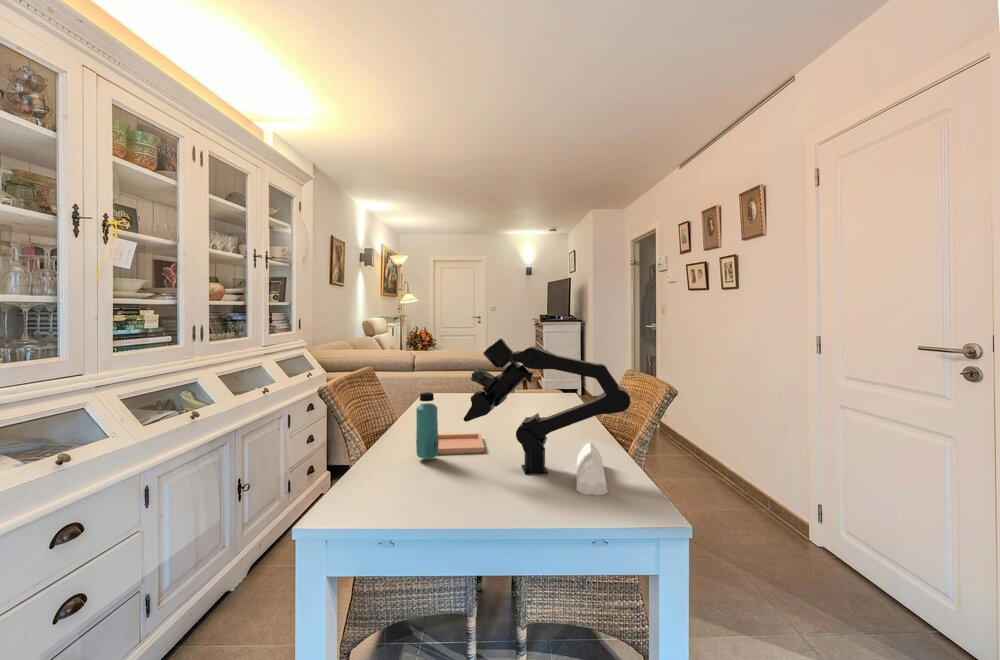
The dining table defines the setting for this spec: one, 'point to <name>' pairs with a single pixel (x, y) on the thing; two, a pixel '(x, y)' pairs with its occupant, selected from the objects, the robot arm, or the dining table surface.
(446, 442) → the terracotta tray
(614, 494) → the dining table surface
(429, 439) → the beverage bottle
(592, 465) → the crystal
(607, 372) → the robot arm
